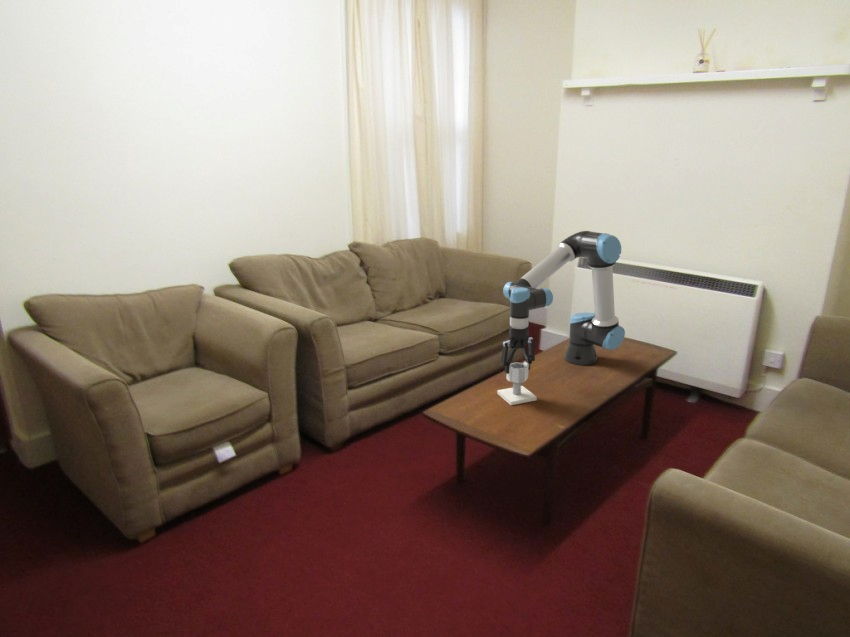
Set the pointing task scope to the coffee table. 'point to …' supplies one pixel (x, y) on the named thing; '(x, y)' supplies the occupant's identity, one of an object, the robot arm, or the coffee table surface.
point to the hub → (518, 372)
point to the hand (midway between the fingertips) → (517, 378)
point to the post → (516, 394)
